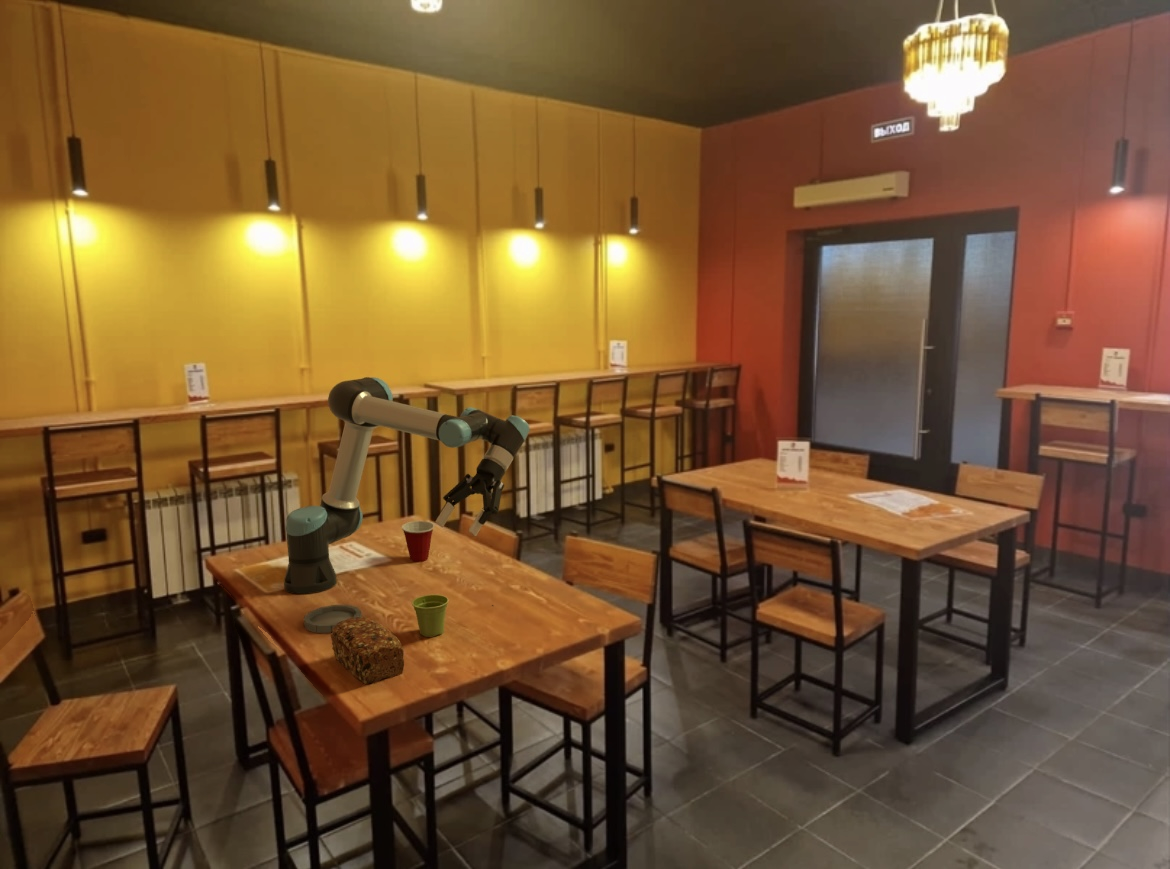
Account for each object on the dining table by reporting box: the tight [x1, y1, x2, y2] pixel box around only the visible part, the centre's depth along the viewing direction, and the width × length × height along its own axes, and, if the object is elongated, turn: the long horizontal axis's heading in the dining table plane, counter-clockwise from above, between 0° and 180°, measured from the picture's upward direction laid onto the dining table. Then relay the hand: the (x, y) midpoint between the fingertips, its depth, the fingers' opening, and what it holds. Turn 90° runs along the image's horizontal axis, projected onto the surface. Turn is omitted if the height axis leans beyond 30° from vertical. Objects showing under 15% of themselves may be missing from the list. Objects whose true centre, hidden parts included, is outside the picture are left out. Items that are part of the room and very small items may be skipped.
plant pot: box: [411, 594, 449, 638], centre depth 204 cm, size 9×9×9 cm
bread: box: [330, 617, 405, 685], centre depth 185 cm, size 19×11×10 cm, turn 39°
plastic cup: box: [401, 520, 435, 563], centre depth 262 cm, size 11×11×12 cm
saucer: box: [303, 604, 363, 634], centre depth 211 cm, size 14×14×2 cm
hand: (455, 529), depth 211 cm, fingers open, 13 cm apart
